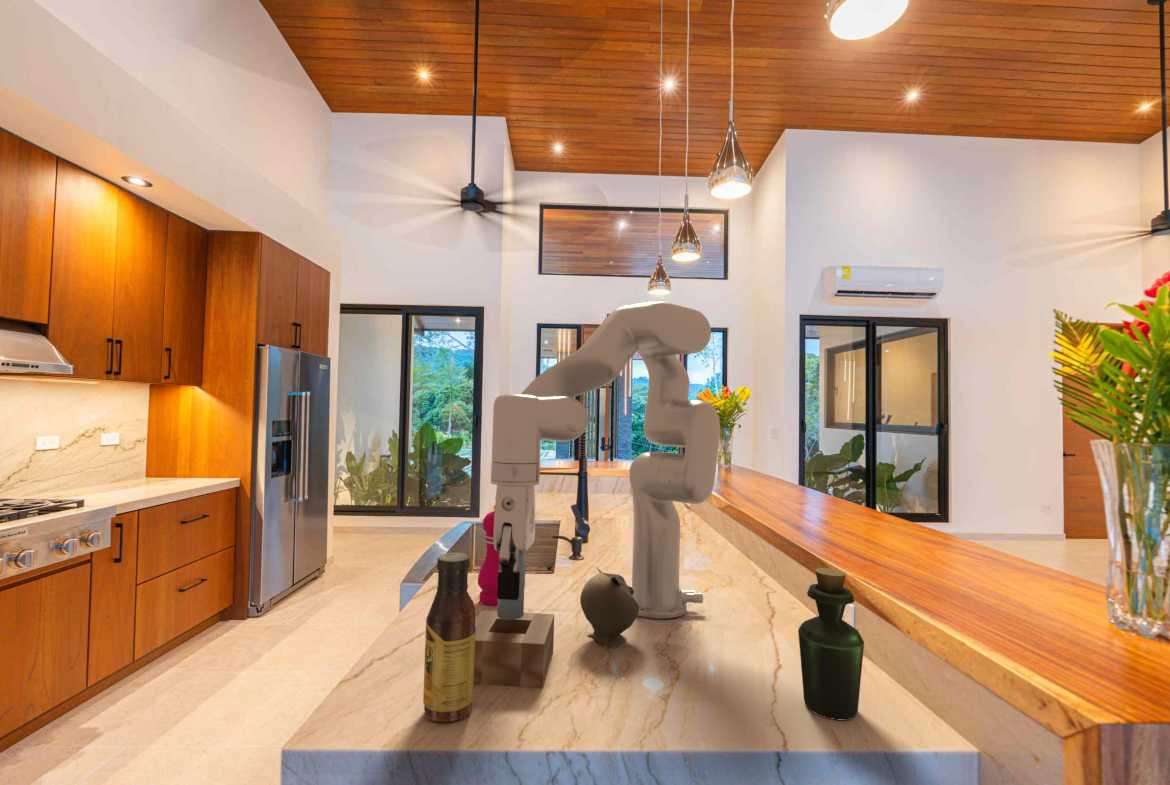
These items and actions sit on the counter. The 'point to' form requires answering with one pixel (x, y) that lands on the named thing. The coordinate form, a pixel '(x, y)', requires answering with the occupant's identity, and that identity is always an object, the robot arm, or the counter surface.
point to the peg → (516, 607)
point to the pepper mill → (489, 565)
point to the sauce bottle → (450, 643)
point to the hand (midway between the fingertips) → (511, 592)
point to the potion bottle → (831, 650)
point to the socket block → (513, 649)
